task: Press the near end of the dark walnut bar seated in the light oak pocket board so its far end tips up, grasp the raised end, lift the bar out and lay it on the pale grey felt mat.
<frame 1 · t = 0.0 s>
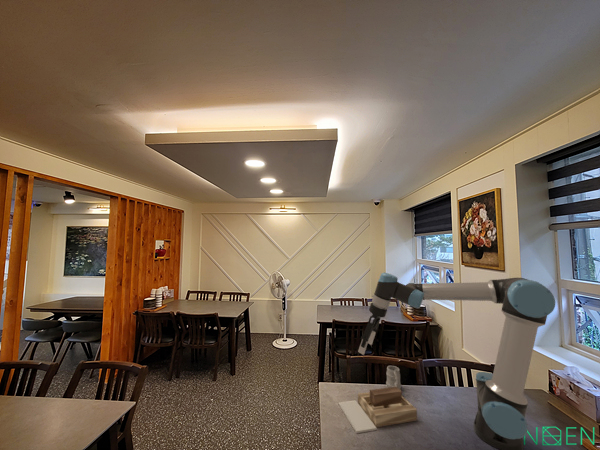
hand: (365, 348, 112), 28 cm above the table, tool tilted 20°, fingers open, 13 cm apart
felt mat: (355, 416, 106), on the table
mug: (394, 390, 128), on the table
pocket board: (386, 411, 110), on the table
walnut bar: (385, 402, 110), point 4 cm above the table, touching pocket board
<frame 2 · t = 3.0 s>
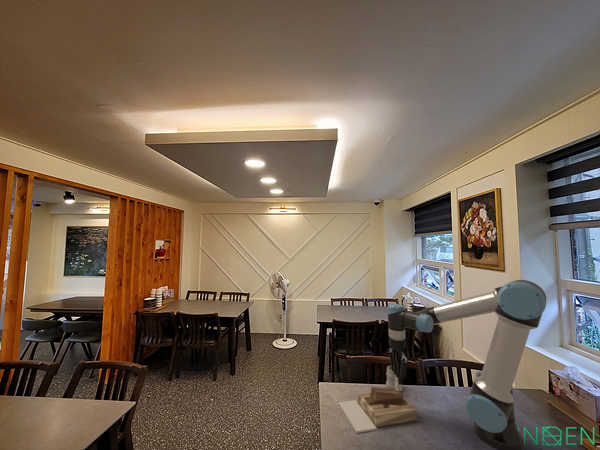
hand: (399, 390, 112), 8 cm above the table, tool pointing down, fingers closed
walnut bar: (385, 402, 110), point 4 cm above the table, tilted 10°, touching gripper, pocket board
everything else where it was.
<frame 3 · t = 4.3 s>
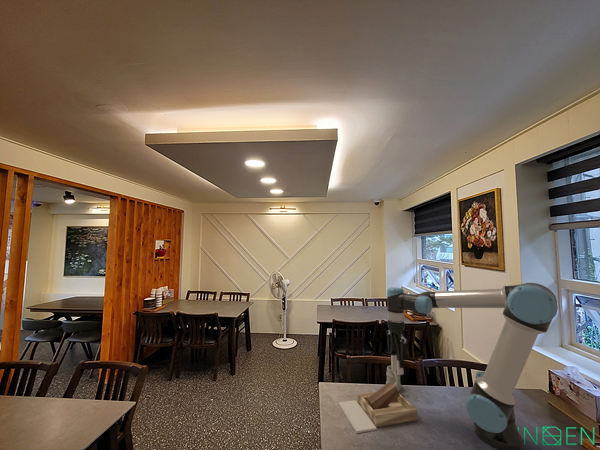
hand: (397, 371, 113), 17 cm above the table, tool pointing down, fingers open, 4 cm apart
walnut bar: (385, 401, 110), point 4 cm above the table, tilted 26°, touching pocket board
everything else where it was.
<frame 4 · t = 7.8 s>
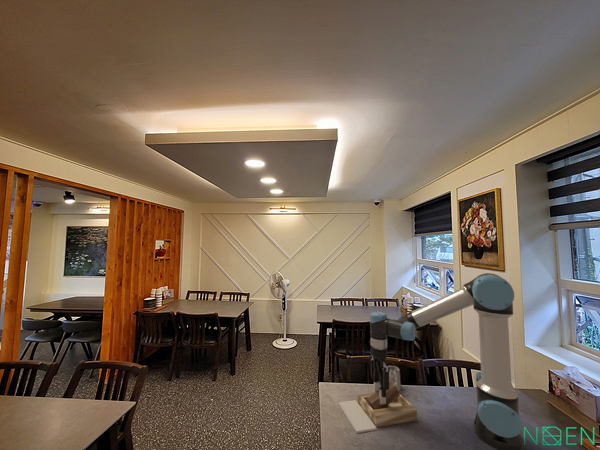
hand: (379, 400, 110), 5 cm above the table, tool pointing down, fingers closed on walnut bar, 4 cm apart
walnut bar: (385, 401, 110), point 4 cm above the table, tilted 27°, touching gripper, pocket board
everything else where it was.
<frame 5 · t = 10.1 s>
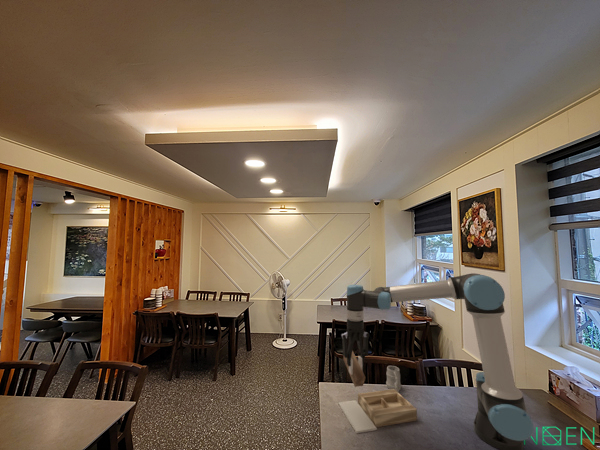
hand: (355, 372, 108), 18 cm above the table, tool pointing down, fingers closed on walnut bar, 4 cm apart
walnut bar: (352, 371, 111), point 17 cm above the table, tilted 27°, touching gripper
everything else where it was.
when the fingers open (6 cm above the table, at t = 12.5 s): walnut bar drops 4 cm, resting on felt mat.
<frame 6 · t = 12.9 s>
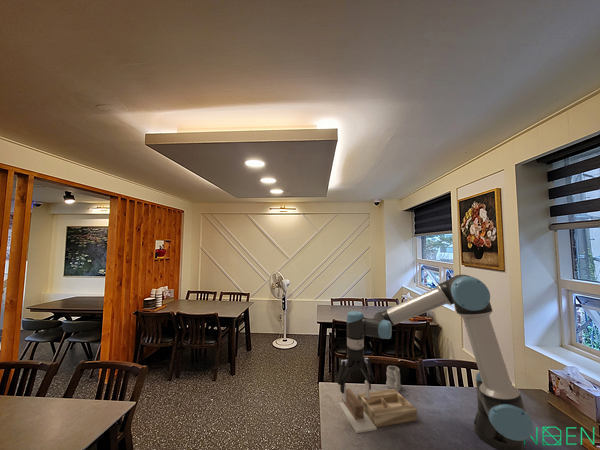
hand: (355, 398, 107), 7 cm above the table, tool pointing down, fingers open, 10 cm apart
walnut bar: (352, 408, 110), point 1 cm above the table, touching felt mat
everything else where it was.
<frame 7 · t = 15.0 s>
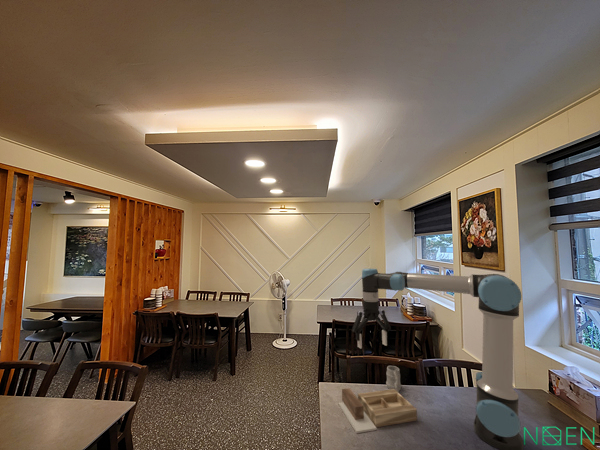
hand: (372, 346, 115), 28 cm above the table, tool pointing down, fingers open, 13 cm apart
nothing on the table moved.
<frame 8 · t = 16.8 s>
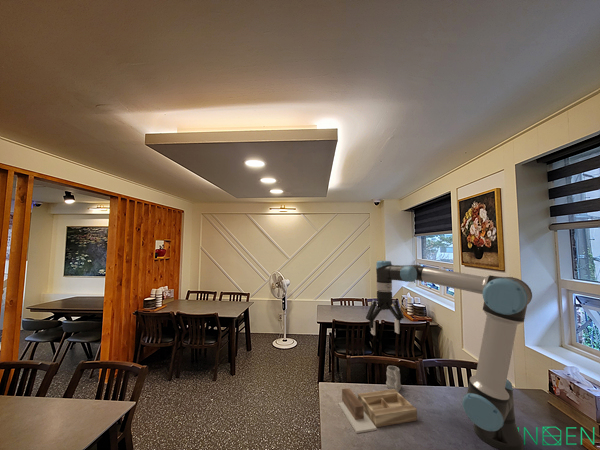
hand: (385, 333, 121), 32 cm above the table, tool pointing down, fingers open, 13 cm apart
nothing on the table moved.
at the end: walnut bar inside the target area (3.7 cm from its centre), point 0.8 cm above the table; walnut bar touching felt mat; the gripper is holding nothing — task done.
